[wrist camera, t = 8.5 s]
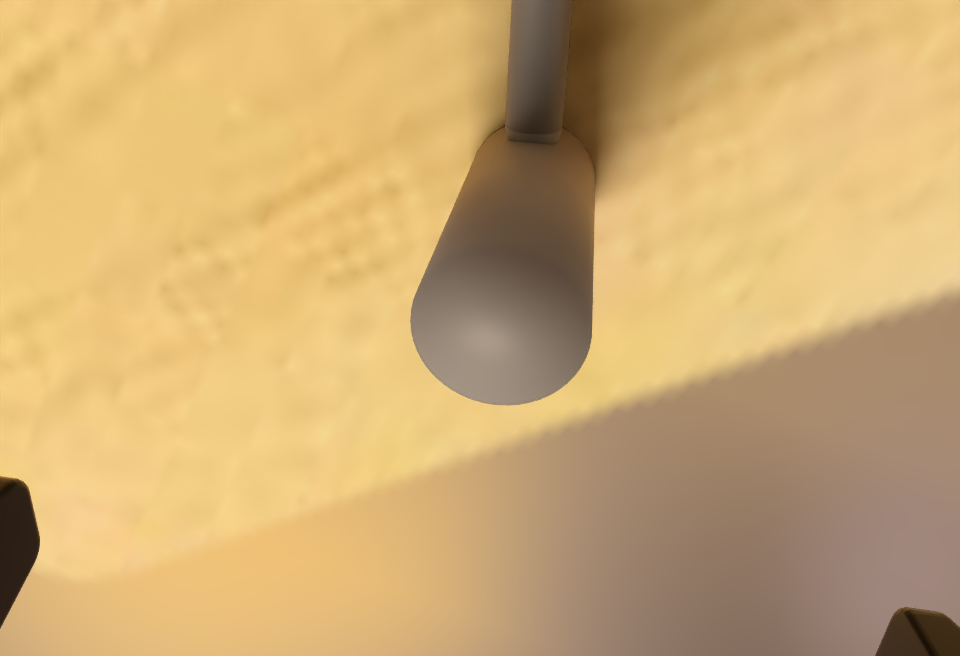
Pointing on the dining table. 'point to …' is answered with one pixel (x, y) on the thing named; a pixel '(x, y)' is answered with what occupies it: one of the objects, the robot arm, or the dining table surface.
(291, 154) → the dining table surface
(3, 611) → the robot arm
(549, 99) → the grey block with handle
